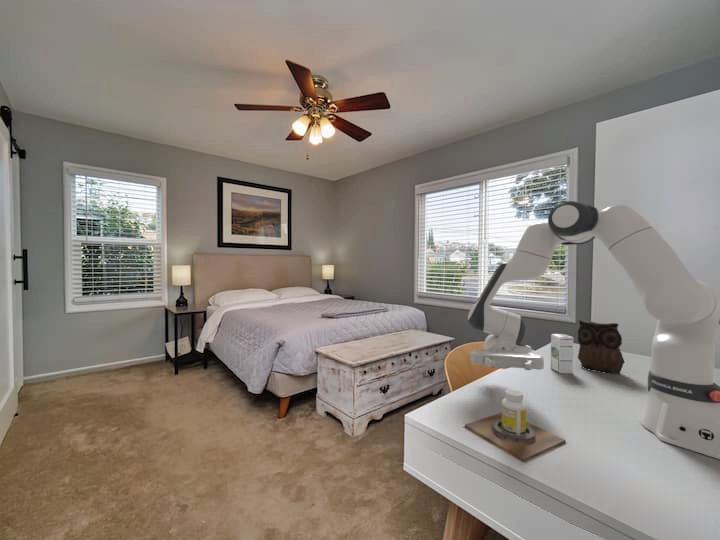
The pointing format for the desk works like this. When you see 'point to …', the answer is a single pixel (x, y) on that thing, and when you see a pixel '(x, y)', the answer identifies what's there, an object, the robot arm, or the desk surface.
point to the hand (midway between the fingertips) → (510, 366)
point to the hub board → (515, 438)
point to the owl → (600, 346)
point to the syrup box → (562, 353)
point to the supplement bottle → (514, 413)
